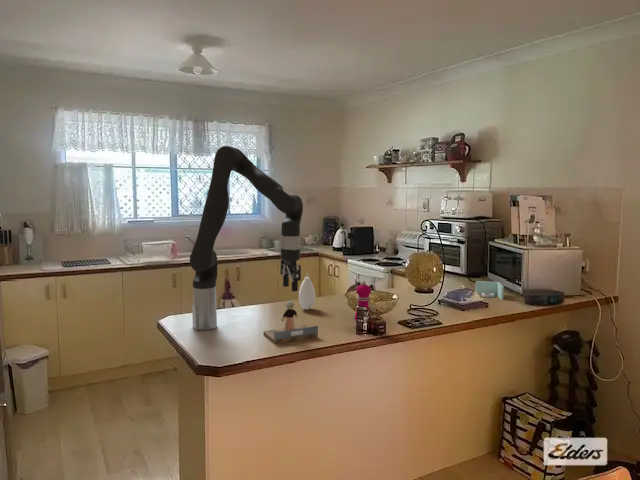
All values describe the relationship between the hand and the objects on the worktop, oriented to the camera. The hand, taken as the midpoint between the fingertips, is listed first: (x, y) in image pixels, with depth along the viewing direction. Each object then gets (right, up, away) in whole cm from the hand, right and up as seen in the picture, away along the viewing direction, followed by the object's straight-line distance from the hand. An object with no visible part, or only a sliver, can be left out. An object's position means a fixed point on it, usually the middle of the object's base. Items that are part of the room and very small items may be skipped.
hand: (290, 288), depth 188 cm
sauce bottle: (+5, -14, +42) cm, 45 cm away
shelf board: (0, -19, +2) cm, 19 cm away
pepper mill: (+29, -18, +13) cm, 37 cm away
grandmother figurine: (0, -18, +2) cm, 18 cm away
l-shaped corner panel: (+101, -12, +69) cm, 123 cm away
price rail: (+3, -18, -3) cm, 18 cm away
